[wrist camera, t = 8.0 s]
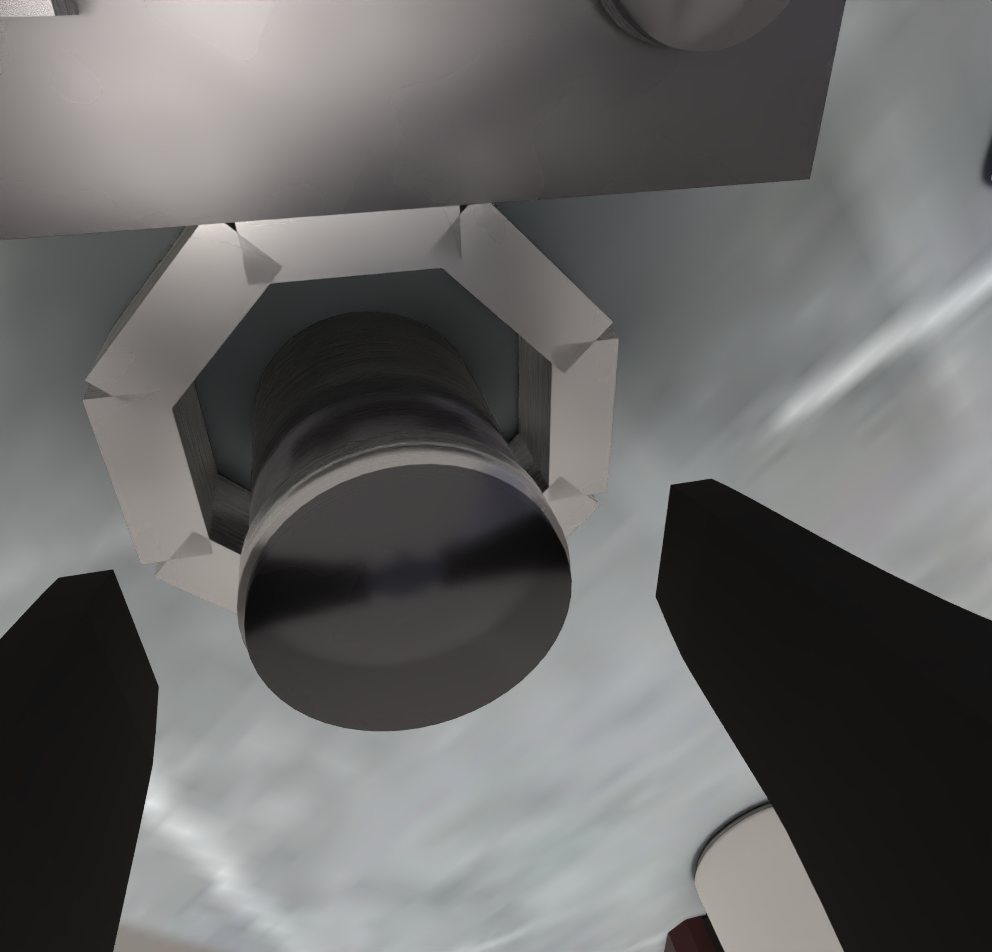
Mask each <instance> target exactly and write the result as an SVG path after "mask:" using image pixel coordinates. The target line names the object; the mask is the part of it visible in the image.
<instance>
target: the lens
mask: <svg viewBox="0 0 992 952" xmlns="http://www.w3.org/2000/svg"><path fill="white" fill-rule="evenodd" d="M571 583H572V580H571V572H570V558H569V551H568V546H567V542H566V539H565V536H564V532H563V530H562V528H561V526H560V524H559V522H558V520H557V518H556V516H555V515H554V513H553V511H552V509H551V508H550V506H549V504H548V502H547V500H546V499H545V497H544V495H543V493H542V491H541V490H540V488H539V487H538V486H537V484H536V483H535V481H534V480H533V479H532V477H531V476H530V475H529V474H528V473H527V472H526V471H525V470H524V469H523V468H522V467H521V466H520V465H519V463H518V462H517V460H516V458H515V456H514V454H513V452H512V451H511V449H510V447H509V445H508V443H507V441H506V439H505V438H504V436H503V434H502V432H501V430H500V428H499V426H498V425H497V423H496V421H495V419H494V417H493V415H492V414H491V412H490V410H489V408H488V406H487V404H486V402H485V401H484V399H483V397H482V395H481V393H480V391H479V390H478V388H477V386H476V384H475V382H474V380H473V378H472V377H471V375H470V373H469V371H468V369H467V367H466V365H465V364H464V362H463V360H462V359H461V357H460V356H459V355H458V353H457V352H456V350H455V349H454V348H453V347H452V346H451V345H450V344H449V343H448V342H447V341H446V340H445V339H444V338H443V337H441V336H440V335H439V334H438V333H436V332H435V331H434V330H432V329H430V328H428V327H427V326H425V325H423V324H421V323H419V322H417V321H414V320H412V319H410V318H407V317H403V316H399V315H396V314H390V313H383V312H355V313H347V314H343V315H338V316H334V317H331V318H328V319H326V320H323V321H320V322H318V323H316V324H314V325H312V326H310V327H308V328H306V329H305V330H303V331H302V332H300V333H299V334H297V335H296V336H295V337H293V338H292V339H291V340H290V341H289V342H288V343H286V344H285V345H284V346H283V347H282V348H281V349H280V350H279V352H278V353H277V354H276V355H275V357H274V358H273V359H272V360H271V362H270V364H269V365H268V367H267V369H266V371H265V372H264V374H263V377H262V379H261V382H260V384H259V387H258V391H257V395H256V400H255V412H254V432H253V453H252V473H251V494H250V515H249V530H248V532H247V535H246V537H245V540H244V544H243V548H242V552H241V556H240V567H239V581H238V597H237V614H238V624H239V628H240V632H241V635H242V639H243V642H244V644H245V646H246V648H247V650H248V652H249V656H250V659H251V661H252V663H253V665H254V667H255V669H256V671H257V673H258V675H259V676H260V677H261V679H262V680H263V681H264V683H265V684H266V685H267V687H268V688H269V689H270V690H271V691H272V692H273V693H274V694H276V695H277V696H278V697H279V698H280V699H281V700H282V701H284V702H285V703H287V704H288V705H289V706H291V707H292V708H294V709H295V710H297V711H299V712H301V713H303V714H305V715H307V716H309V717H311V718H314V719H316V720H319V721H322V722H324V723H327V724H331V725H335V726H339V727H343V728H349V729H356V730H363V731H400V730H408V729H415V728H421V727H426V726H430V725H435V724H439V723H442V722H445V721H449V720H452V719H455V718H458V717H460V716H463V715H465V714H468V713H470V712H472V711H475V710H477V709H479V708H481V707H482V706H484V705H486V704H488V703H490V702H492V701H494V700H495V699H497V698H498V697H500V696H501V695H503V694H505V693H506V692H508V691H509V690H510V689H511V688H513V687H514V686H515V685H517V684H518V683H519V682H520V681H522V680H523V679H524V678H525V677H526V676H527V675H528V674H529V673H530V672H531V671H532V670H533V669H534V668H535V667H536V666H537V665H538V664H539V662H540V661H541V660H542V659H543V658H544V657H545V655H546V654H547V653H548V651H549V650H550V648H551V647H552V645H553V644H554V642H555V641H556V639H557V637H558V635H559V633H560V631H561V629H562V627H563V624H564V621H565V618H566V616H567V613H568V609H569V604H570V599H571Z"/></svg>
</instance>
